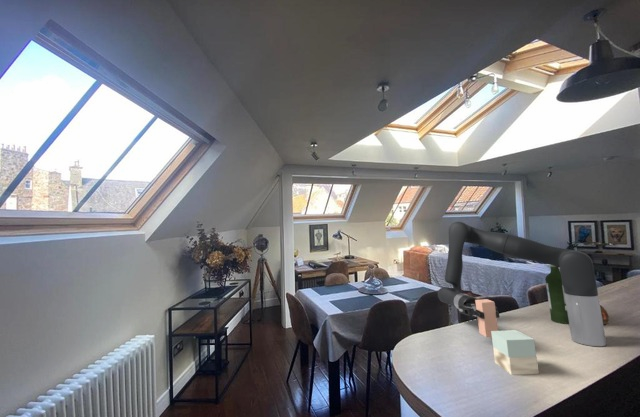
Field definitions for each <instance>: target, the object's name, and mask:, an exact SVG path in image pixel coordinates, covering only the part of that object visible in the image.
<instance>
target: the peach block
mask: <svg viewBox="0 0 640 417" xmlns="http://www.w3.org/2000/svg"><path fill="white" fill-rule="evenodd" d="M475 303H476V309H477V310H479V311H481V312H483V313H484V316H485V319H482V318H480V317H478V316H477V317H476V318H477V324H478V332H479V334H480V335H482V336H483V337H485V338H492V334H491V331H499V327H498V326H499V324H498V318H496V310H495V306H496V303H495V301H493V300H491V299H487V298H486V299H485V298H484V299H478V300H475Z"/></svg>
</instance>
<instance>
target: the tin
mask: <svg viewBox="0 0 640 417" xmlns="http://www.w3.org/2000/svg"><path fill="white" fill-rule="evenodd" d="M600 309H601V315H602V321H603V325H607V324H609V321H610V317H609V313H608V311H607V309H606V308H605V307H604V306H603V305H601V304H600Z"/></svg>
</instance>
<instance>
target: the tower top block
mask: <svg viewBox="0 0 640 417" xmlns="http://www.w3.org/2000/svg"><path fill="white" fill-rule="evenodd" d="M491 334H492V337H491V340H492V342H491V343H492V348H493V347H494V348H495V349H497V350H498V351H500V352H501V353H503V354H504V355H506V356H507V357H509V358H513V357H537V352H536V346H535V339H534V338H532V337H530V336H529V335H526V334H525V333H522V332H520V331H518V330H516V329H514V330H511V329H510V330H507V329H506V330H498V331H491Z"/></svg>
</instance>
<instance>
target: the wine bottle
mask: <svg viewBox="0 0 640 417" xmlns="http://www.w3.org/2000/svg"><path fill="white" fill-rule="evenodd" d="M549 266H550V272H549V273H548V274H547V275H546V276H545V285H546V286H545V287H546V293H547V300H548V305H549V306H548V307H549V314H550V320H551V321H552V322H554V323H557V324H562V325H563V324H564V325H569V320H568V313H567V306H566V300H565V294H564V288H563V284H562V278H561V272H560V268H559V267H556V266H553V265H550V264H549Z"/></svg>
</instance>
